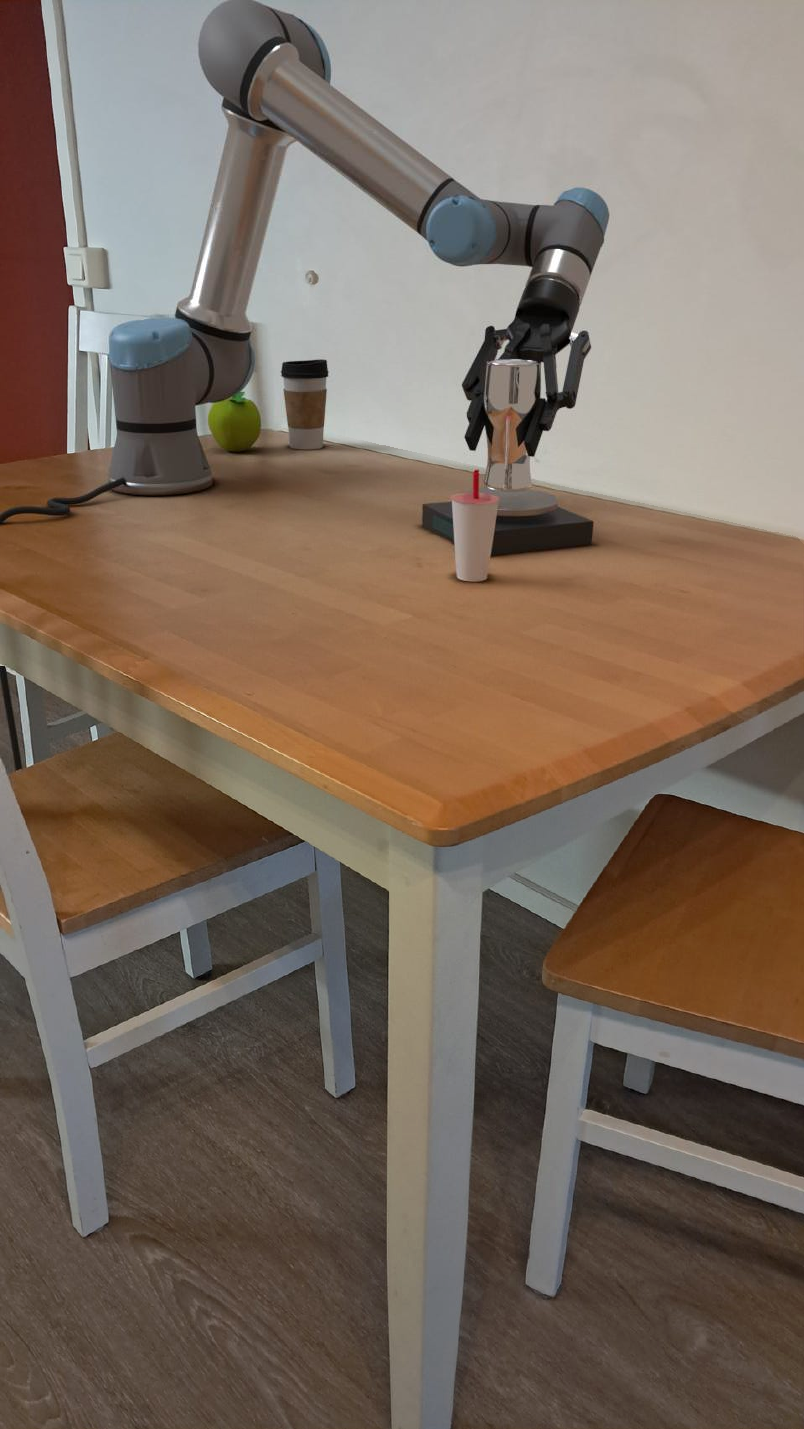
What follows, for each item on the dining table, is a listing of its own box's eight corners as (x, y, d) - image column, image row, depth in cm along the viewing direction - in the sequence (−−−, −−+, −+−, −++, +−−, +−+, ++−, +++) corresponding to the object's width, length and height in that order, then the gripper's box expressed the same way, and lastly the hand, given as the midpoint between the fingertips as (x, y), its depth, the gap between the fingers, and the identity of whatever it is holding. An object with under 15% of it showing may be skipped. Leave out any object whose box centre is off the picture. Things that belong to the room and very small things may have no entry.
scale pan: (484, 520, 127) (485, 513, 127) (437, 497, 138) (438, 491, 138) (577, 511, 132) (578, 504, 132) (525, 490, 143) (525, 484, 143)
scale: (475, 557, 127) (476, 532, 126) (419, 526, 140) (419, 504, 139) (591, 544, 133) (594, 521, 132) (527, 516, 146) (528, 494, 145)
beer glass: (546, 486, 134) (554, 362, 128) (511, 494, 130) (518, 366, 124) (503, 478, 139) (509, 357, 133) (468, 485, 134) (472, 361, 128)
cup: (470, 587, 116) (474, 476, 111) (438, 575, 120) (441, 468, 115) (505, 578, 119) (511, 470, 114) (473, 567, 123) (478, 462, 118)
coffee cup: (327, 451, 189) (326, 363, 183) (280, 450, 190) (277, 362, 183) (331, 443, 197) (330, 358, 191) (286, 442, 197) (283, 357, 191)
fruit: (263, 445, 194) (260, 388, 189) (260, 455, 185) (258, 395, 181) (212, 445, 193) (208, 388, 189) (207, 455, 184) (203, 395, 180)
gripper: (632, 322, 135) (583, 473, 128) (486, 315, 143) (433, 457, 136) (625, 278, 129) (572, 434, 122) (472, 273, 136) (416, 420, 130)
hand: (499, 446), depth 129 cm, fingers closed on beer glass, 7 cm apart
